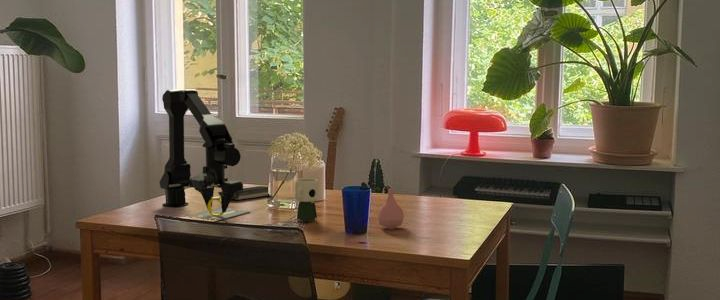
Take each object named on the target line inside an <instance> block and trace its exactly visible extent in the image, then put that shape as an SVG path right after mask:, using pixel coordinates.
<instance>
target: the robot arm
mask: <svg viewBox="0 0 720 300" xmlns="http://www.w3.org/2000/svg"><path fill="white" fill-rule="evenodd" d="M161 99H162V103H163V109H164V111H165V112H166V114H167V115H168V136H169V137H168V138H169V140H168V142H169V144H168V145H169V147H168V148H169V157H168V159H167V161H166V163H165V165H164V172H163V175H162V177H161V178H160V180H159V187H160V189H163V190H164V193H165V202H164V203H162V206H165V207H171V208H177V207H181V206H187V205H189V203H190V202H186V201H187V200H186V191H185V189H186V187H187V188H193V189H195V191H197V192H199V194H201V197H202V198H203V200H204V201H203V202H204V204H205V205H206V209H207V210H208V202H209V200H211V198H212V197H214V193H215V192H214V191H215V188H219V189H221V191H218V192H217V193H218V195H219V197H220V199H221V203H220V205H221V207H222V212H223V213H224V212H226V210H227V208H229V205H230V203H231V201H232V200H233V199H232V197H233V195H234V193H235V192H237V191H242V190H243V188H244V183H243V182H242V181H240V180H229V179H228V177H226V176H225V174H226V173H225V171H226V169H228V166H229V167H234V166H235V167H236V166H237V165H238V164H239V163H240V160H241V157H242V156H241V153H240V150H239V149H238V148H237V147H236V146H235V145H236V144H235V143H234V142H233V138H232V136H231V134H230V132H229V130H228V127H227V125H226V124H225V123H224V122H223V121H222V120H221V119H220V118H218V117H216V116H214V115H213V114H212V113H211V111H210V110H209V109H208V107H207V106H206V104H205V103H204V101H203V100H202V99H201V97H200V96H199V92H198V90H197V89H194V88H185V89H184V88H183V89H181V88H179V89H167V90H165V92H163V94H162V98H161ZM188 110H189V111H190V113H191V114H192V116H193V117H194V119H195V120H196V121H197V123H198V125H199V128H198V131H199V134H200V136H201V138H202V139H203V141H204V143H203V144H202V148H205V165H203V167H202V171H201V172H200V173H197V174H196V175H195V176H193V177H191V176H192V174H191V164H190V163H188V161H186V160H187V159H186V158H185V116H186V113H187V112H188ZM228 180H229V181H228ZM212 207H213V202H212V203H211V208H212Z"/></svg>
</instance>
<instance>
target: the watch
mask: <svg viewBox="0 0 720 300" xmlns="http://www.w3.org/2000/svg"><path fill="white" fill-rule="evenodd" d="M213 201H218V202H219V203H220V204H221V196H213V197H212V198H211V200H209V202H208V209H207V210H208V211H209V213H210V214H211V215H212V216H221V215H223V214H224V213H223V212H221V213H220V214H215V213H213V212H212V209H213V208H212V207H211V203H212V204H213Z"/></svg>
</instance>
